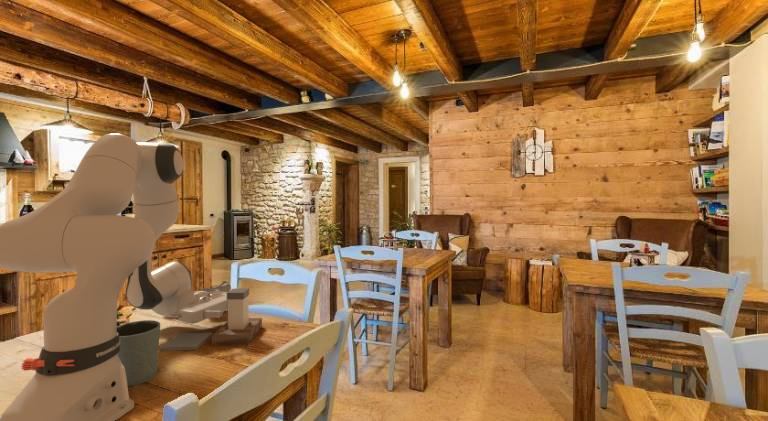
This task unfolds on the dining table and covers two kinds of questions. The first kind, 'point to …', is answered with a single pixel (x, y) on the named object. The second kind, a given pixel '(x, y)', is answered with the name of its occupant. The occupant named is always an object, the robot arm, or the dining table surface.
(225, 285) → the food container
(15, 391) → the dining table surface
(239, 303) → the plug
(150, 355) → the grey green bucket
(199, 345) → the mat
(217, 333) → the socket block
